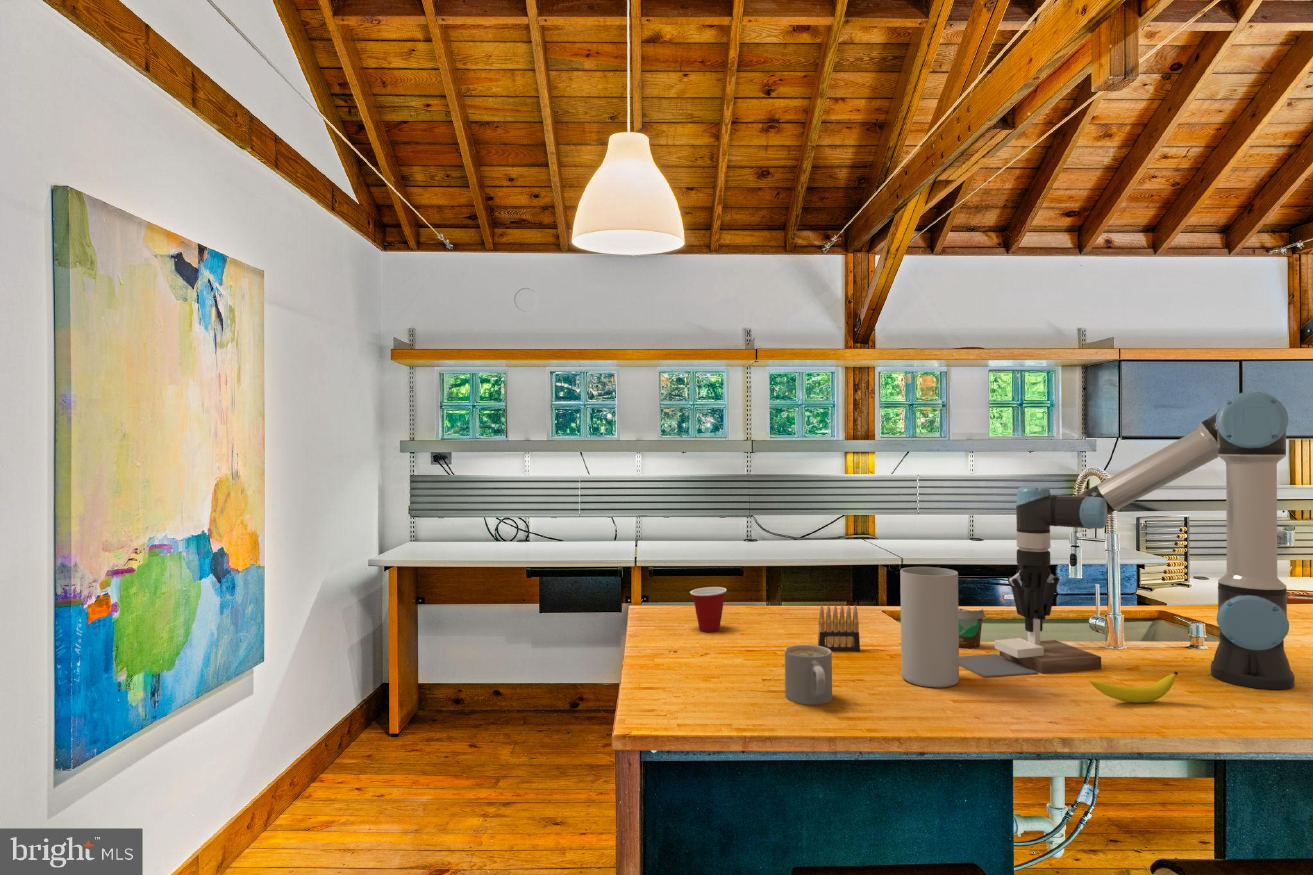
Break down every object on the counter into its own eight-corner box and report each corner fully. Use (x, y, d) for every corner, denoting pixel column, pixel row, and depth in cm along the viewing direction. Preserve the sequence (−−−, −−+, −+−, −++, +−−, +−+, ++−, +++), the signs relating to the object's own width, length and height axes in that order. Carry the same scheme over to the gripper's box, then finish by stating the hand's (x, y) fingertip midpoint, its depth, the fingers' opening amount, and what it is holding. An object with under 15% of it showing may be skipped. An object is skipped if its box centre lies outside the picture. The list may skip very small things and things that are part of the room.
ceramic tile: (1043, 655, 186) (1043, 647, 186) (1017, 658, 185) (1017, 649, 185) (1019, 645, 195) (1019, 637, 195) (994, 648, 193) (994, 640, 193)
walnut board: (1101, 669, 185) (1101, 656, 185) (1041, 673, 182) (1041, 660, 182) (1055, 651, 200) (1055, 640, 200) (999, 655, 197) (999, 643, 197)
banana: (1085, 701, 162) (1085, 671, 162) (1172, 699, 163) (1172, 669, 163) (1094, 706, 159) (1093, 675, 159) (1182, 704, 160) (1182, 673, 160)
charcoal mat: (1037, 673, 181) (1037, 672, 181) (983, 677, 179) (983, 675, 179) (996, 655, 197) (996, 653, 197) (945, 658, 195) (945, 657, 195)
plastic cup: (689, 625, 232) (689, 585, 232) (725, 625, 232) (725, 585, 232) (690, 634, 221) (690, 592, 222) (728, 634, 221) (728, 592, 221)
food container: (933, 646, 206) (933, 609, 207) (937, 641, 212) (936, 604, 212) (983, 652, 201) (983, 613, 201) (985, 646, 206) (985, 608, 206)
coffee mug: (782, 689, 172) (782, 644, 172) (828, 689, 171) (827, 644, 171) (790, 710, 159) (789, 661, 159) (838, 710, 158) (838, 661, 158)
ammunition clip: (858, 649, 204) (858, 604, 204) (860, 651, 202) (859, 605, 202) (817, 649, 204) (817, 604, 205) (819, 651, 203) (818, 605, 203)
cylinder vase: (922, 690, 170) (921, 577, 170) (890, 674, 182) (889, 568, 182) (971, 685, 173) (969, 574, 173) (936, 670, 185) (935, 565, 185)
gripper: (1046, 546, 195) (1047, 639, 195) (1000, 547, 193) (1000, 642, 193) (1067, 550, 188) (1068, 647, 188) (1019, 552, 186) (1019, 650, 186)
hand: (1033, 644), depth 191 cm, fingers closed
